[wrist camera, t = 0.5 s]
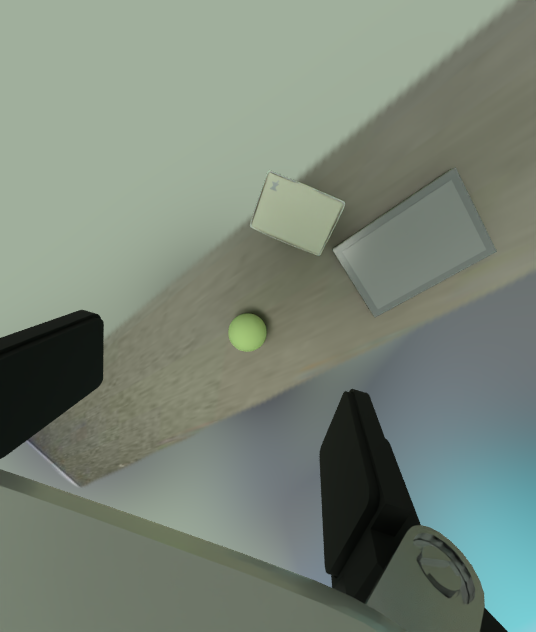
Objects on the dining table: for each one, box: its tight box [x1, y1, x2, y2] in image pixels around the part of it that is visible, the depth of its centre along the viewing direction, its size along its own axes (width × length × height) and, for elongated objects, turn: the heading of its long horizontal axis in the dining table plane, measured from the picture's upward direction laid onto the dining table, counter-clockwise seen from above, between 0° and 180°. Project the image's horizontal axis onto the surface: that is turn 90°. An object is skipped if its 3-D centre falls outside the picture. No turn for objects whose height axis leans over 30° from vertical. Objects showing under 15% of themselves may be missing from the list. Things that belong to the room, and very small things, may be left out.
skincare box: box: [250, 170, 345, 256], centre depth 24 cm, size 6×4×12 cm
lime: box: [228, 314, 267, 352], centre depth 33 cm, size 5×5×5 cm
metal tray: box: [332, 167, 497, 317], centre depth 29 cm, size 14×10×1 cm
